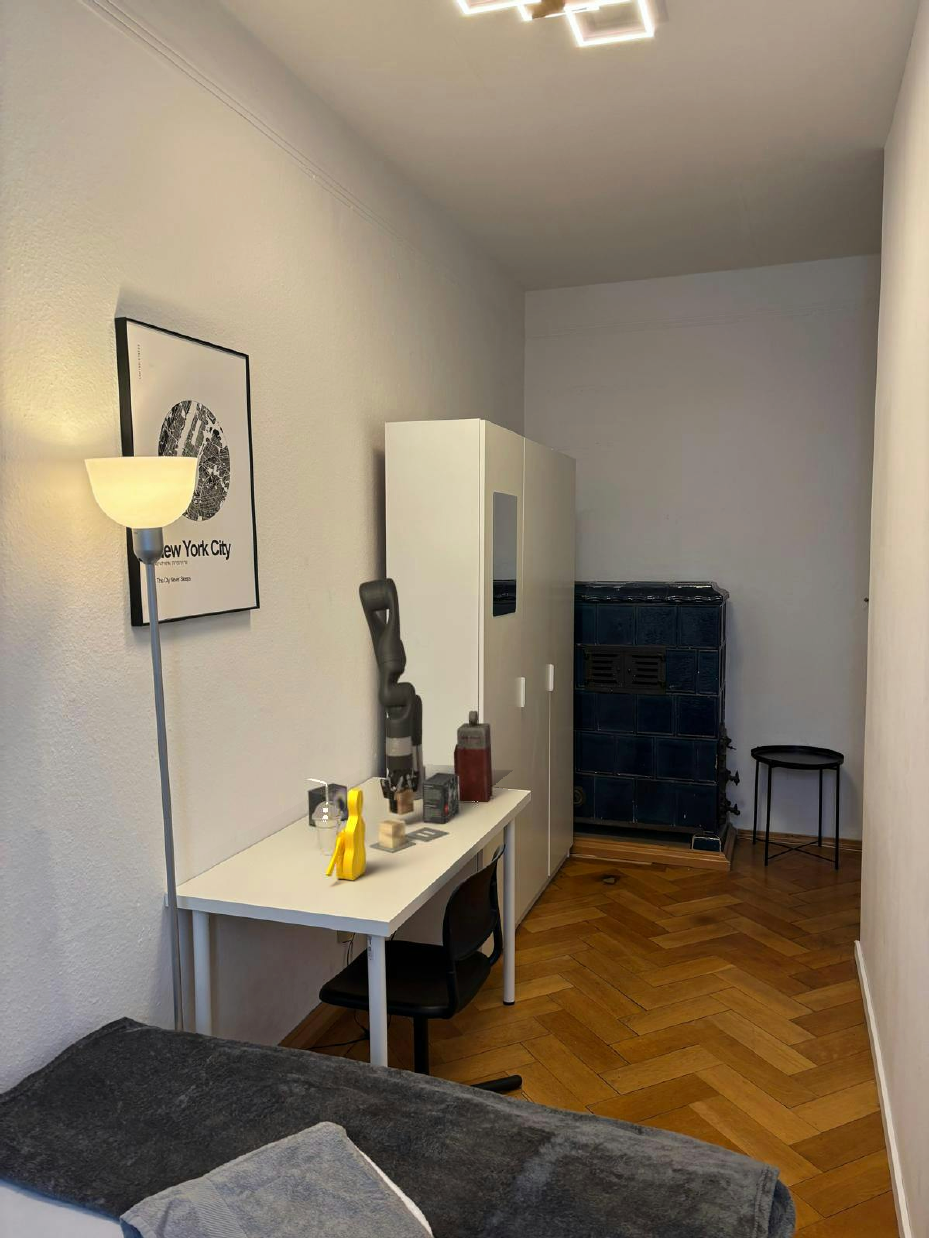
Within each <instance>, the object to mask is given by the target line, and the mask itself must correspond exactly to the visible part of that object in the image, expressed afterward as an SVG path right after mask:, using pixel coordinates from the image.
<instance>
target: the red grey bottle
mask: <svg viewBox="0 0 929 1238" xmlns="http://www.w3.org/2000/svg"><path fill="white" fill-rule="evenodd" d="M491 739H492V738H491V725H490V723H481V722H480V723H479V713H478V711H477V710H469V712H468V722H466V723H465V722H464V723H463V724H462V725H461V726H459V728H457V730H456V740H457V742H456V744H455V746H454V747H455V748H454V750H453V767H454V770H453V771H454V772H453V774H458V801H459V802H460V801H475V802H474V803H479V802H487V803H489V801H490V800H489V799H491V798H492V797H493V795H492V794H493V768H492V765H493V764H492V745H491V744H492V743H491V742H492V741H491ZM491 796H492V797H491ZM490 797H491V798H490ZM477 801H478V802H477Z"/></svg>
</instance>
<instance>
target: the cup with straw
mask: <svg viewBox="0 0 929 1238" xmlns="http://www.w3.org/2000/svg"><path fill="white" fill-rule="evenodd" d="M307 781H308V782H314V783H317V784H322V785H323V784H324V786H325V788H326V801H324V802H322V803H320V804H319V805H318V806H317V807H316V809H315V812H314V813H313V814H312V819H313V820H315V825H316V827H315V828H316V832H317V838H318V843H319V844H318V845H319V850H320V854H321V855H323V856H333V853H334V850H335V843H336V840H337V837H336V836H337V835H338V833H340V827H341V823H342V822H341V818H342V817H343V816H344V815H343V812H342V811H340V808H339V806H338V805H337V804H336V803H334V802H331V801H329V795H328V785H329V784H328V783H327V781H324V780H320V779H315V778H310V777H309V778H308V779H307Z"/></svg>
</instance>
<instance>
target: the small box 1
mask: <svg viewBox="0 0 929 1238" xmlns="http://www.w3.org/2000/svg"><path fill="white" fill-rule="evenodd" d="M307 795H308V796H307V797H308V825H309V826H311V827H315V828H316V825H315V820H313V819H312V814H313V813H314V812H315V809H316V807H317V806H318V805H319V804H320V803H322V802H324V801H326V788H325V785H321V786H319V787H316V788H313V789H309V790H307ZM328 795H329V801H331V802H334V803H336V804H337V805H338V806H339V808H340V811H342V812H343V815H344V816H343V817H342V818H341V821H343V822H345V820H346V821H348V818H349V810H348V804H347V802H348V786H347V785H343V784H337V783H333V782H332V783H329V784H328Z"/></svg>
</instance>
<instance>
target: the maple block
mask: <svg viewBox="0 0 929 1238" xmlns="http://www.w3.org/2000/svg"><path fill="white" fill-rule="evenodd" d="M405 834H406V821H402V820H399V819H394V818H391V819H387V820H384V821H382V822H379V823H378V838H379V839H378V840H379V841H378V842H380V845H382V846H385V847H389V848H395V847H398V846H401V845H403V844H406V841H407V840H406V838H407V837H406V836H405Z"/></svg>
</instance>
